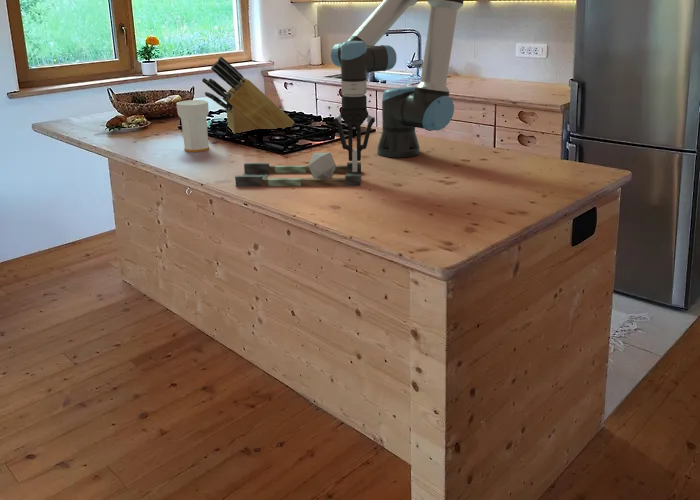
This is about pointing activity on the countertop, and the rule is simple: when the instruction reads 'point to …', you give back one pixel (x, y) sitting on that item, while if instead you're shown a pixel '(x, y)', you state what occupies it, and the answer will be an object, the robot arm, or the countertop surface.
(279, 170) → the trap channel
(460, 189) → the countertop surface
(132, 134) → the countertop surface
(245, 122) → the knife block
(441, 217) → the countertop surface
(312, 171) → the die
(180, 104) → the cup
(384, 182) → the countertop surface
